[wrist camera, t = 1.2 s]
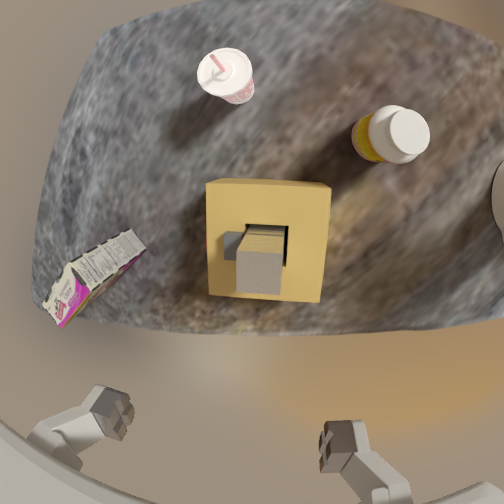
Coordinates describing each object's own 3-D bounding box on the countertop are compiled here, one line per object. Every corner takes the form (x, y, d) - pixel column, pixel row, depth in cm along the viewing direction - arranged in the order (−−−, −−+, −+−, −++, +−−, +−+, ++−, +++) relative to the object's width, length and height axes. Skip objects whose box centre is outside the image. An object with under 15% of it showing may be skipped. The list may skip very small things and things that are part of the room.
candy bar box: (115, 284, 47) (61, 331, 31) (98, 263, 46) (39, 304, 30) (150, 248, 43) (90, 293, 28) (131, 225, 42) (65, 261, 27)
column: (285, 215, 39) (284, 252, 24) (283, 243, 40) (281, 296, 25) (255, 213, 39) (235, 249, 24) (254, 242, 41) (235, 292, 26)
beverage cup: (251, 64, 32) (233, 22, 19) (265, 101, 34) (253, 71, 21) (211, 78, 34) (174, 45, 20) (223, 115, 35) (190, 94, 22)
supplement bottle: (361, 168, 35) (394, 173, 23) (342, 124, 34) (368, 108, 22) (400, 153, 34) (445, 155, 22) (383, 110, 32) (423, 93, 20)
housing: (322, 182, 37) (333, 190, 28) (314, 277, 41) (320, 310, 32) (220, 178, 38) (200, 184, 29) (221, 271, 43) (204, 301, 34)
